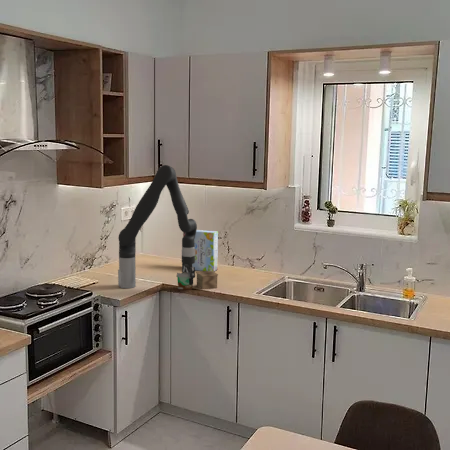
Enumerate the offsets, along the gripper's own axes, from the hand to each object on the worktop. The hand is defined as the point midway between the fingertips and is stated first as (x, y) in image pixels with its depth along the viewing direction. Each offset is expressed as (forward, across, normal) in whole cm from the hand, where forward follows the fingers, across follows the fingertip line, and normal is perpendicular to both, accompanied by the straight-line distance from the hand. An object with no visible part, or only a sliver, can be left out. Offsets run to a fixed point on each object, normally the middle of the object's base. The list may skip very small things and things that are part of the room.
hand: (188, 282), depth 320 cm
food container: (+4, 0, 0) cm, 4 cm away
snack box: (+4, -43, +25) cm, 50 cm away
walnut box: (+4, -1, +12) cm, 12 cm away
